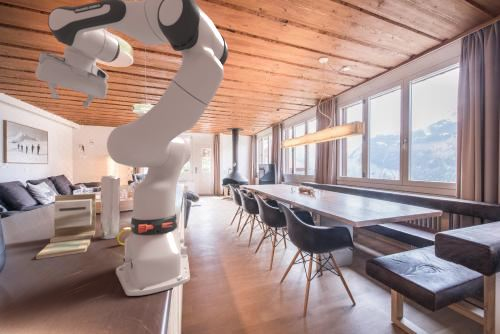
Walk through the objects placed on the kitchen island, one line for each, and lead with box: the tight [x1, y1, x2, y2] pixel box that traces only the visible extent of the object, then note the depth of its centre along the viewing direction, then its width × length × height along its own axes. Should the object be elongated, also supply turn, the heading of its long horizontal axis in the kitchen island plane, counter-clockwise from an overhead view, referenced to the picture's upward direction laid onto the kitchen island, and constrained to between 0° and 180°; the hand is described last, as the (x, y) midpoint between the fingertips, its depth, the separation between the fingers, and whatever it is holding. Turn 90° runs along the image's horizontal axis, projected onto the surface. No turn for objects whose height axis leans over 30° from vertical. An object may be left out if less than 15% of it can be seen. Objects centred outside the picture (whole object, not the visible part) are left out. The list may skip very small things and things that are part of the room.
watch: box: [116, 226, 131, 246], centre depth 79 cm, size 6×3×6 cm, turn 129°
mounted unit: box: [49, 193, 97, 244], centre depth 86 cm, size 7×13×17 cm, turn 120°
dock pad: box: [35, 238, 92, 260], centre depth 73 cm, size 12×12×1 cm
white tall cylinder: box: [100, 175, 121, 240], centre depth 87 cm, size 6×6×25 cm
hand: (70, 102), depth 77 cm, fingers open, 8 cm apart
